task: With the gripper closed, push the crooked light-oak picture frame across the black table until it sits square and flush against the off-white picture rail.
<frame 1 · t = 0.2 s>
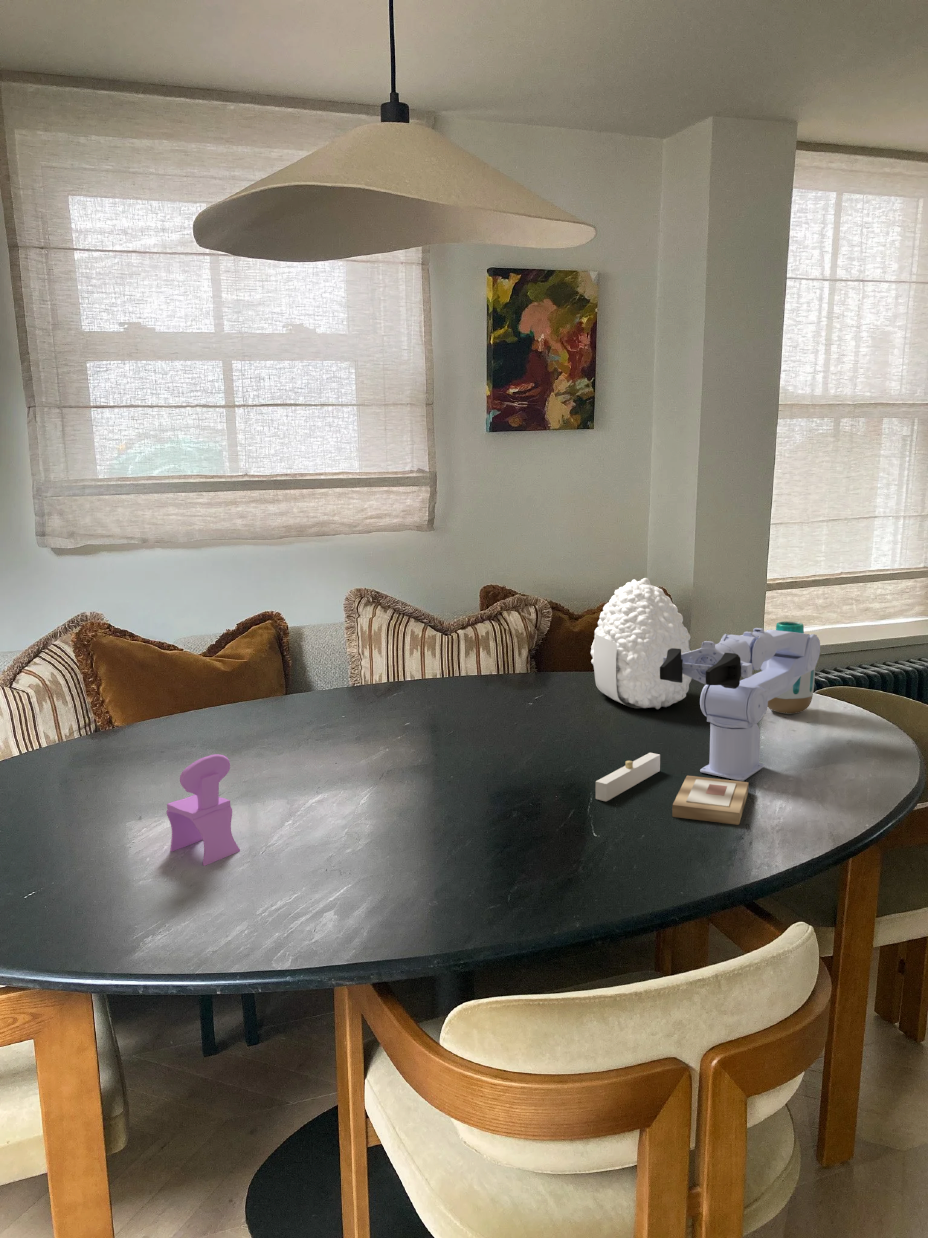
hand: (684, 675, 147), 21 cm above the table, tool horizontal, fingers open, 7 cm apart
frame: (711, 807, 151), on the table
rice ball: (639, 700, 212), on the table
vase: (786, 713, 200), on the table
toy chair: (204, 852, 138), on the table
rail: (628, 784, 160), on the table
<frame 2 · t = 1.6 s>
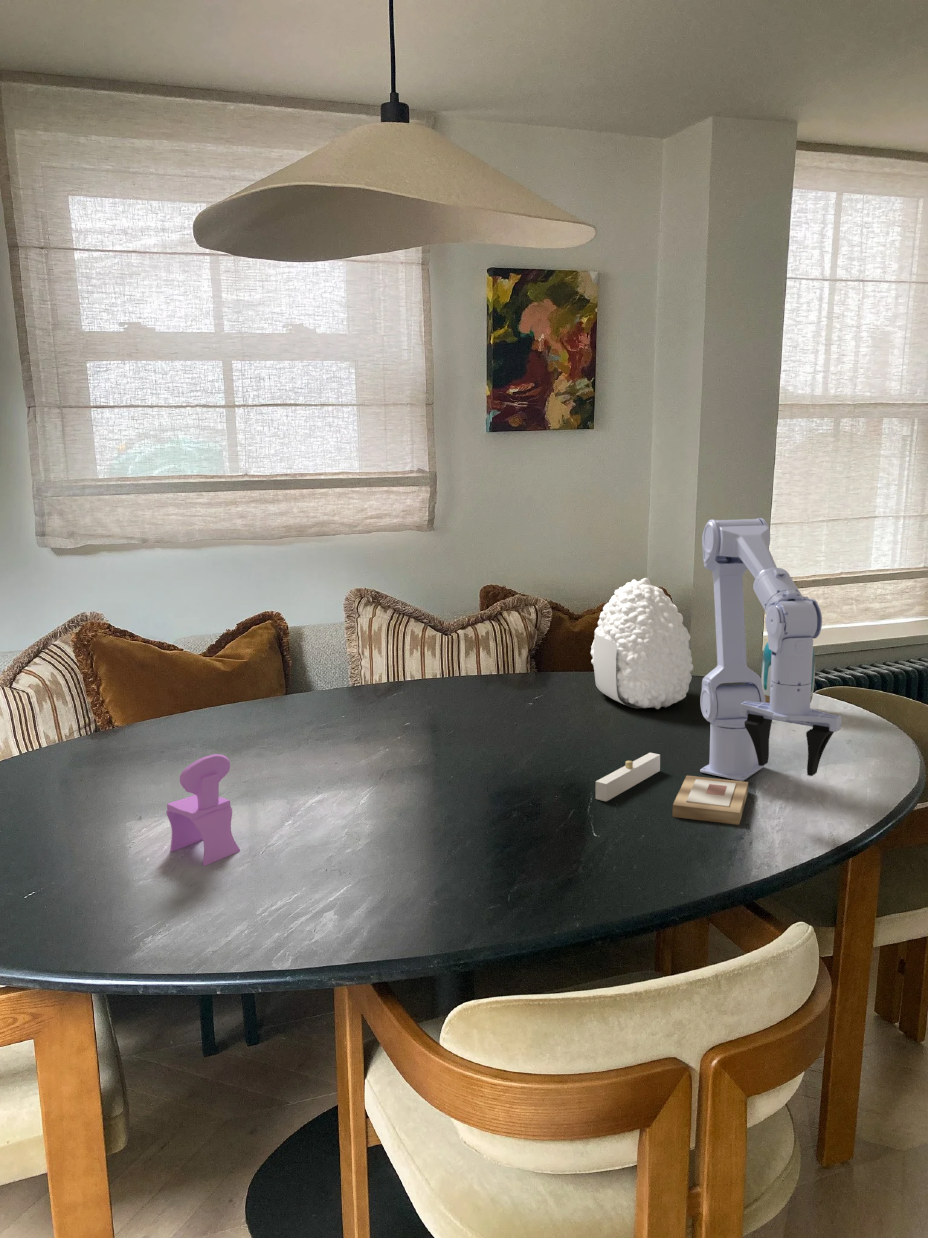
hand: (787, 768, 142), 8 cm above the table, tool pointing down, fingers open, 7 cm apart
nothing on the table moved.
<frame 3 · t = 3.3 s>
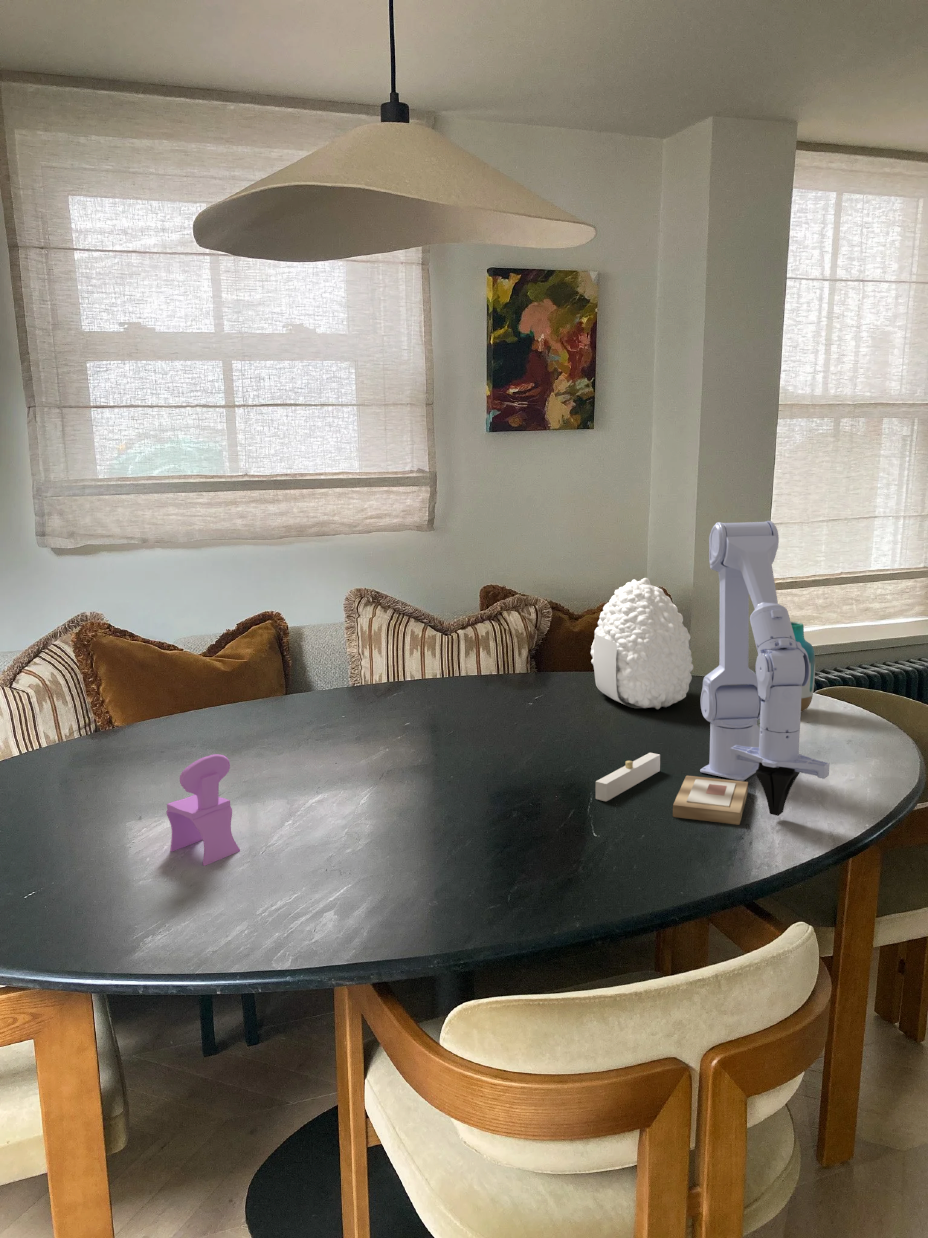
hand: (776, 813, 144), 1 cm above the table, tool pointing down, fingers closed
nothing on the table moved.
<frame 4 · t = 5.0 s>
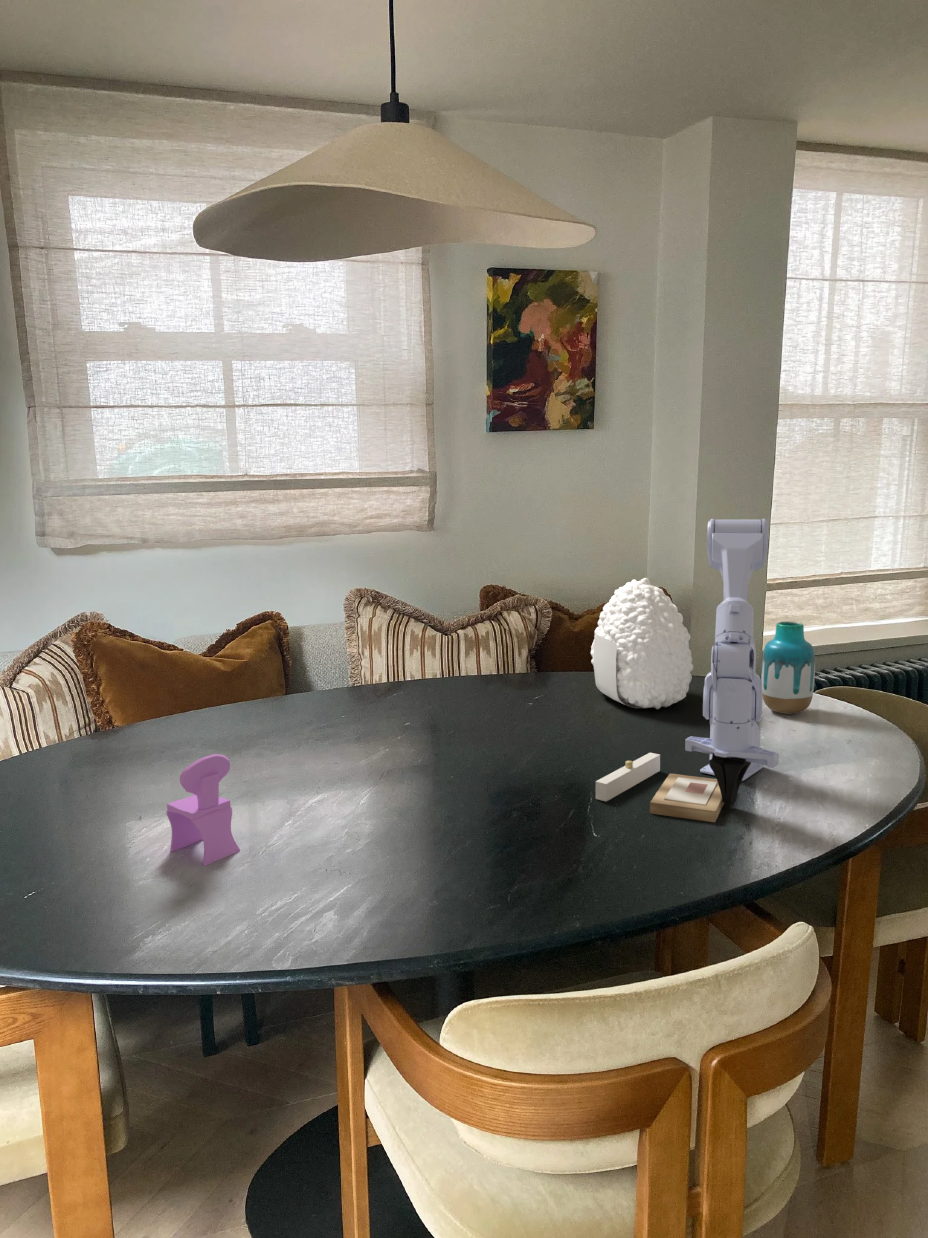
hand: (729, 801, 149), 1 cm above the table, tool pointing down, fingers closed
frame: (690, 805, 152), on the table
everything else where it was.
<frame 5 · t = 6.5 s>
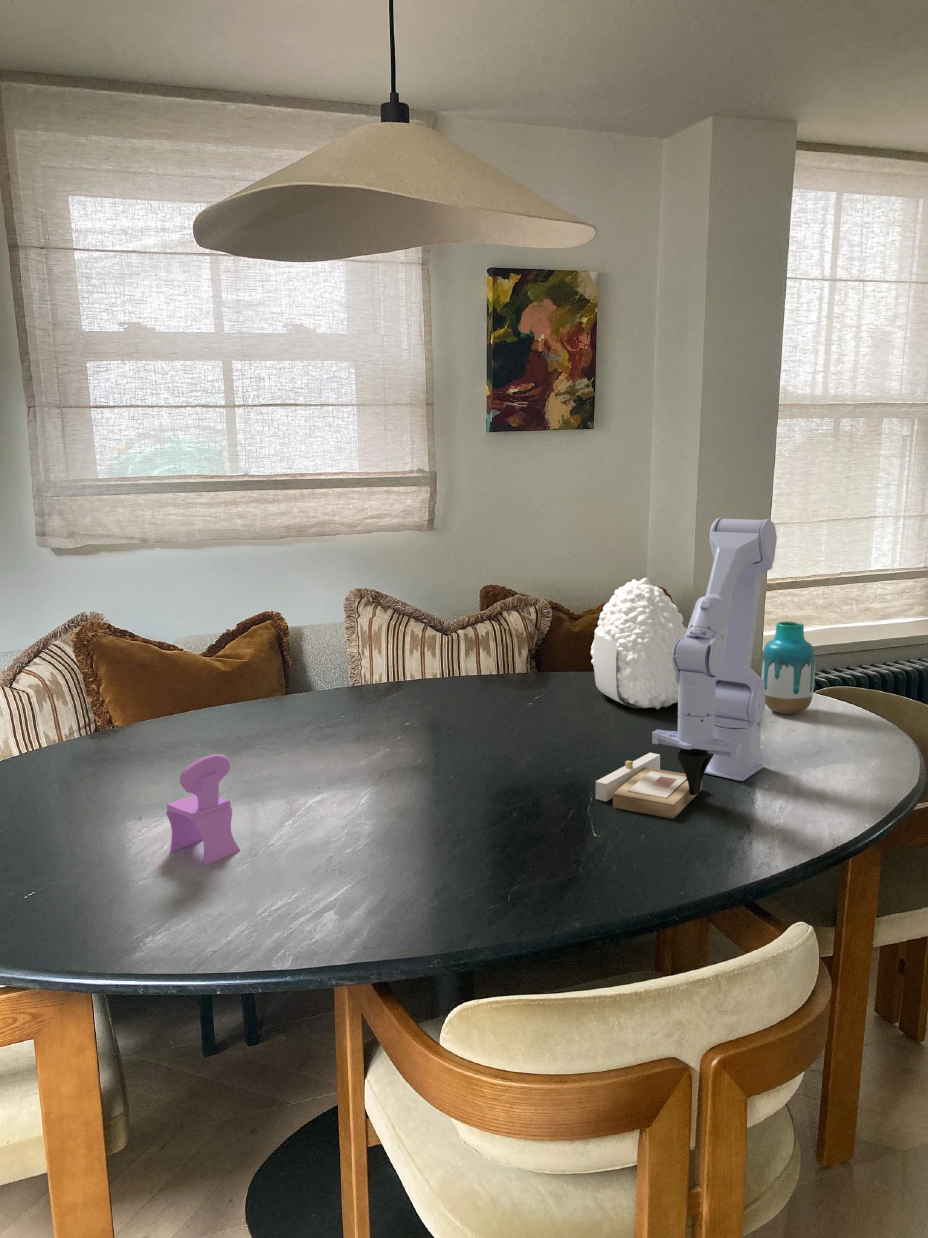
hand: (694, 793, 152), 1 cm above the table, tool pointing down, fingers closed, pressing on frame
frame: (658, 798, 154), on the table, touching gripper, rail
everything else where it was.
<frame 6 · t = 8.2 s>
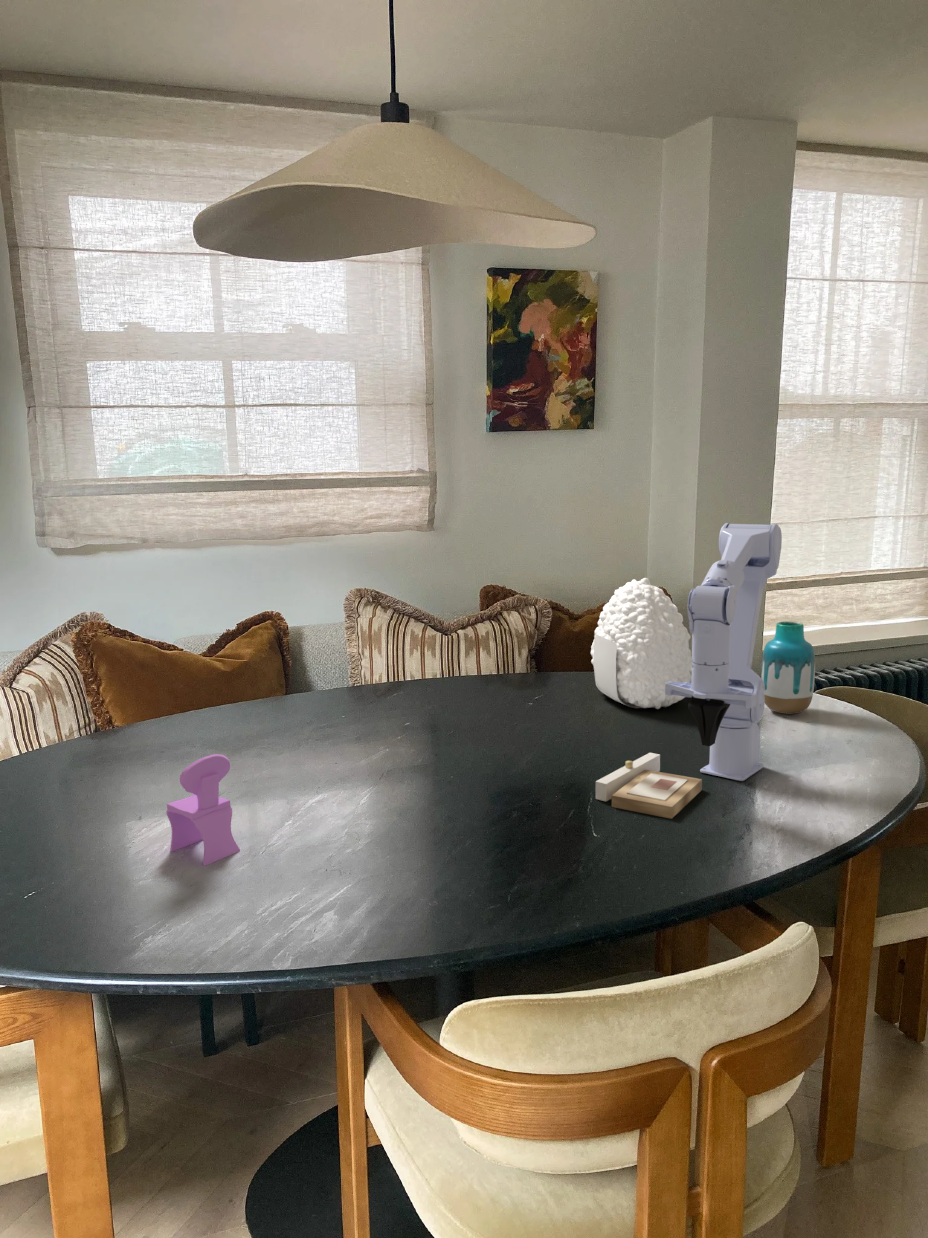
hand: (708, 744, 151), 9 cm above the table, tool pointing down, fingers closed
frame: (657, 801, 154), on the table
everything else where it was.
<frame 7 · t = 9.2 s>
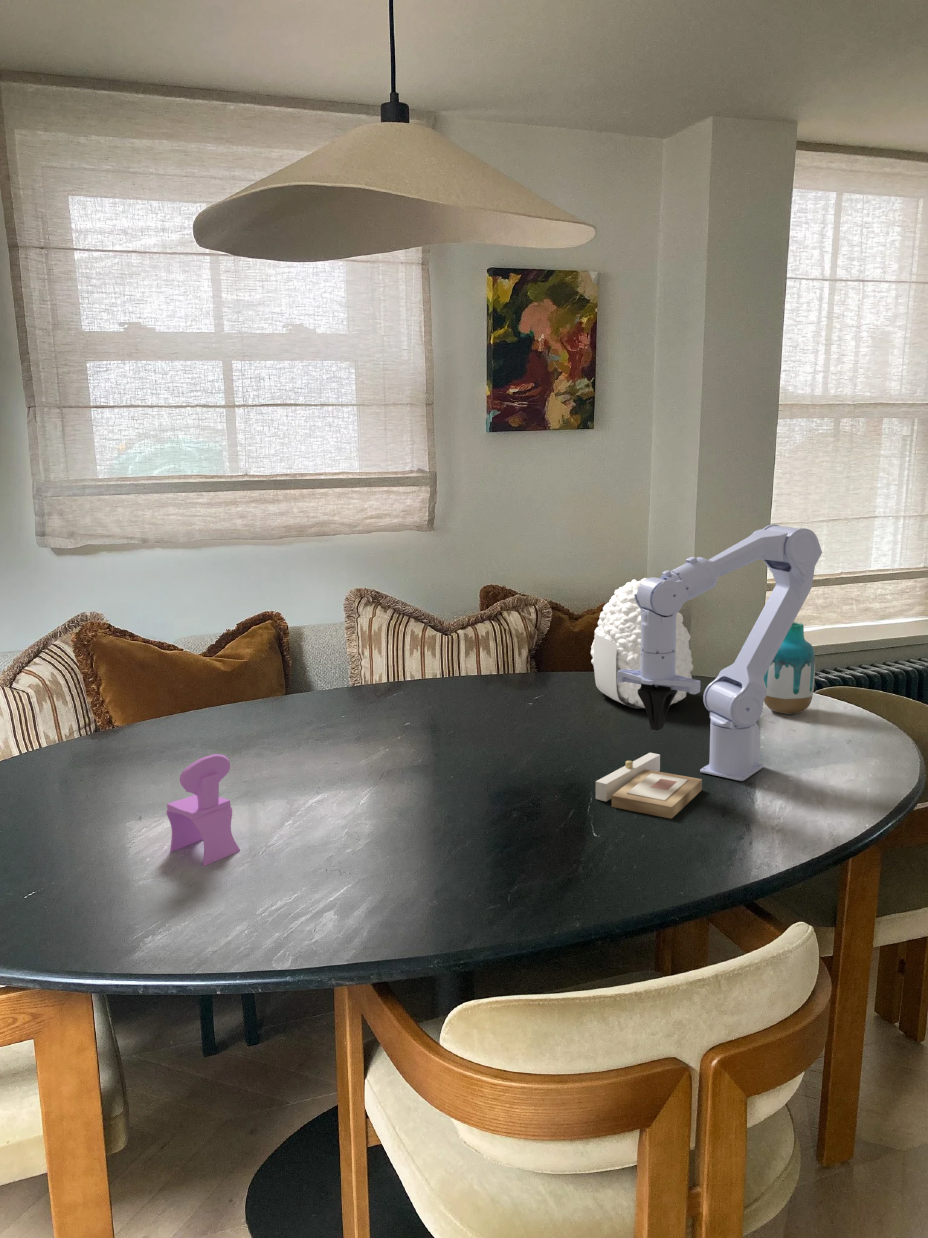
hand: (657, 728, 160), 9 cm above the table, tool pointing down, fingers closed
nothing on the table moved.
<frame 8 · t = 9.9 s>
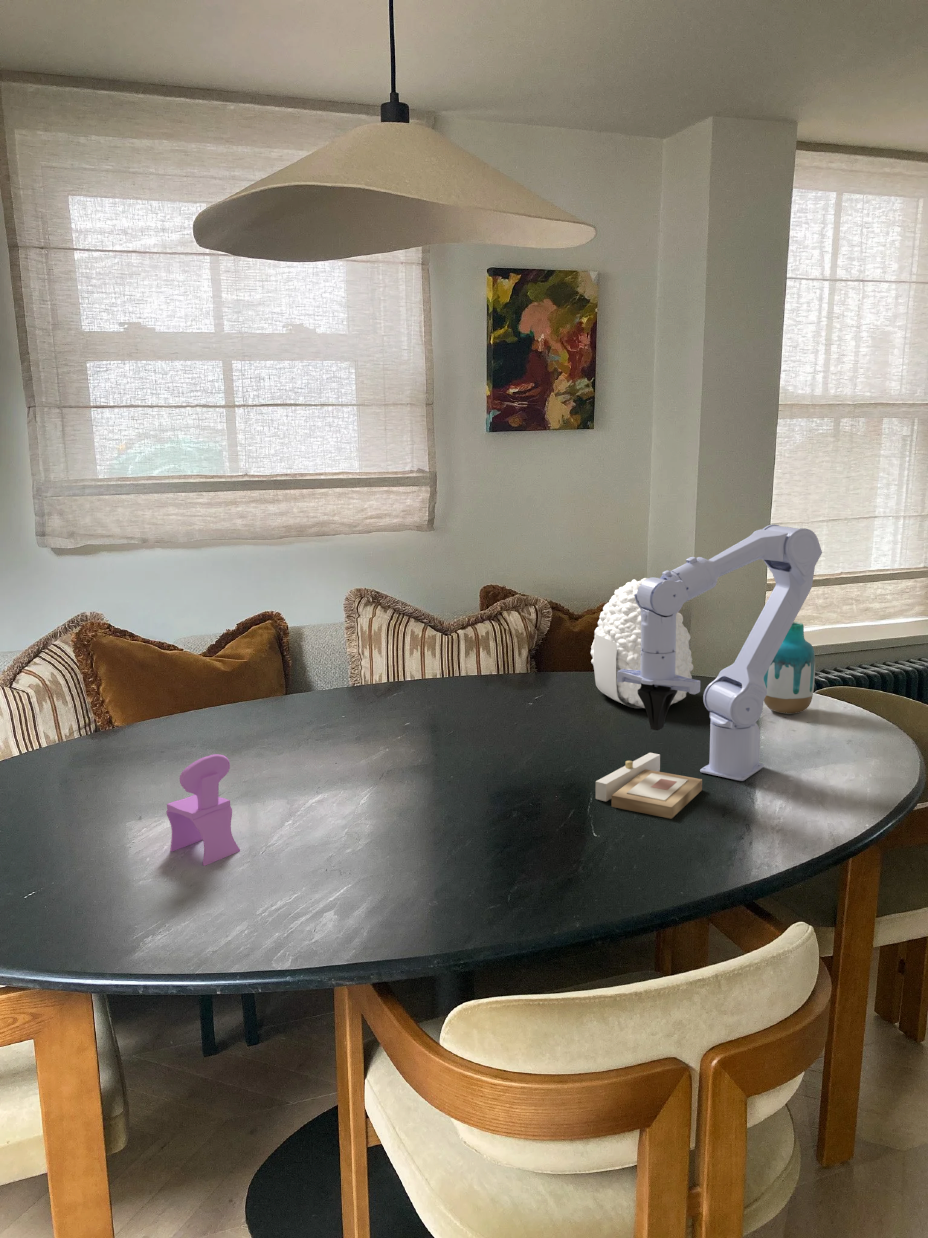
hand: (657, 728, 160), 9 cm above the table, tool pointing down, fingers closed
nothing on the table moved.
at the end: frame inside the target area on the table beside the rail (2.9 cm from its centre), on the table; frame tilted 0° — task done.
